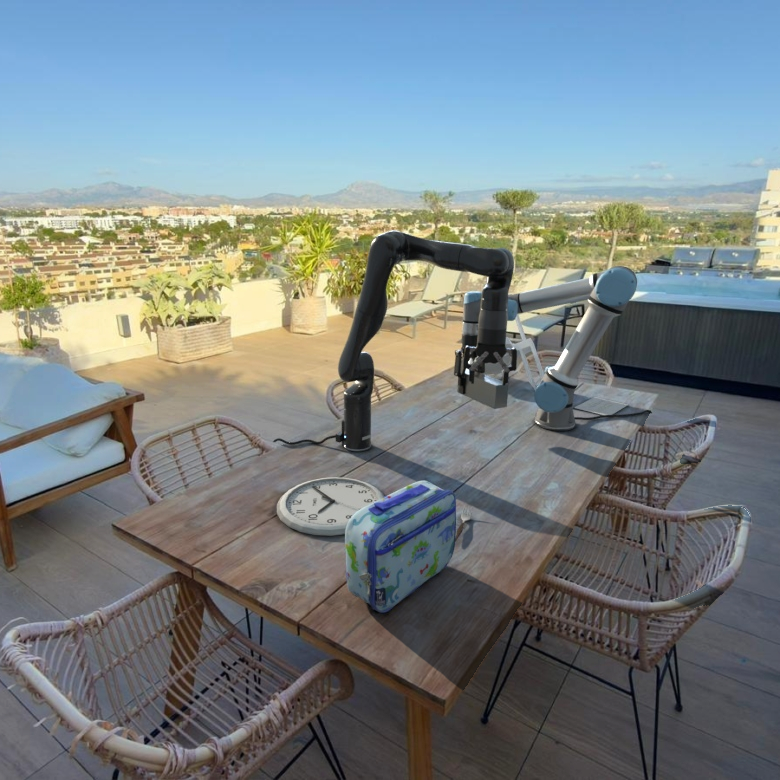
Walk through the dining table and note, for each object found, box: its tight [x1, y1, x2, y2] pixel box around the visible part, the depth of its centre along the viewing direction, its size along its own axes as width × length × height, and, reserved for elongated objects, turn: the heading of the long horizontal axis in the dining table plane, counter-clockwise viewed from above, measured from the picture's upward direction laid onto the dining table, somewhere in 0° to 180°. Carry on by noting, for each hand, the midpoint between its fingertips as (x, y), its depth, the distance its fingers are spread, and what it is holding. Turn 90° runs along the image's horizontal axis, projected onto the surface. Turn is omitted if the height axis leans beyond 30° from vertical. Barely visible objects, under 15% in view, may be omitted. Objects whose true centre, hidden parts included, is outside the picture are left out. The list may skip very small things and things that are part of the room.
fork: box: [455, 504, 474, 543], centre depth 133 cm, size 3×16×2 cm, turn 160°
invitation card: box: [573, 396, 629, 416], centre depth 226 cm, size 21×1×15 cm
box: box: [456, 369, 510, 410], centre depth 196 cm, size 22×6×9 cm, turn 29°
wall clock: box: [276, 476, 386, 537], centre depth 142 cm, size 30×2×30 cm
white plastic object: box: [468, 314, 545, 391], centre depth 259 cm, size 37×45×31 cm
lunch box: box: [344, 480, 457, 614], centre depth 109 cm, size 26×11×21 cm, turn 135°
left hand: (488, 384), depth 144 cm, fingers open, 8 cm apart
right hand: (468, 391), depth 203 cm, fingers closed on box, 6 cm apart
